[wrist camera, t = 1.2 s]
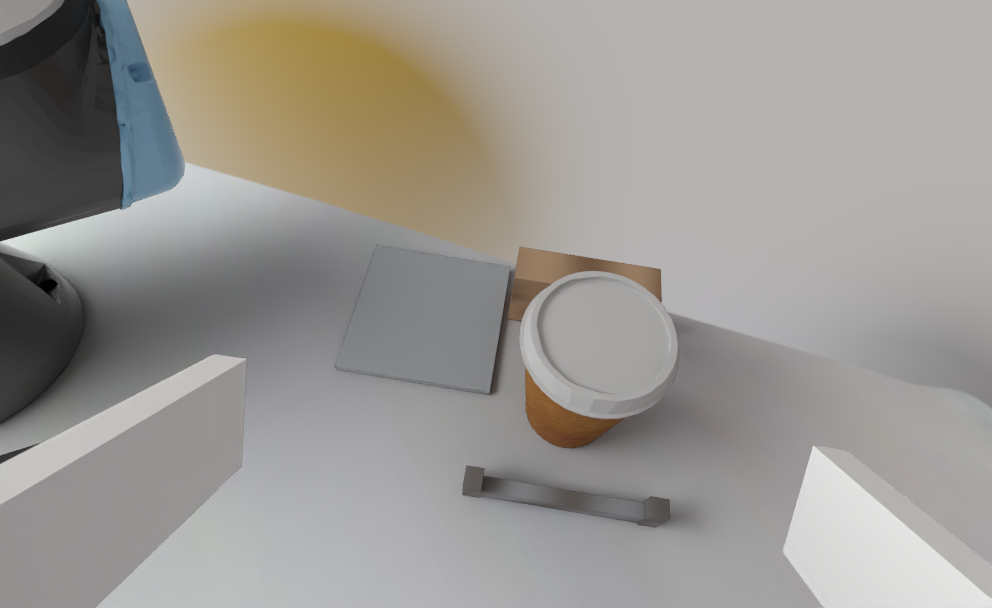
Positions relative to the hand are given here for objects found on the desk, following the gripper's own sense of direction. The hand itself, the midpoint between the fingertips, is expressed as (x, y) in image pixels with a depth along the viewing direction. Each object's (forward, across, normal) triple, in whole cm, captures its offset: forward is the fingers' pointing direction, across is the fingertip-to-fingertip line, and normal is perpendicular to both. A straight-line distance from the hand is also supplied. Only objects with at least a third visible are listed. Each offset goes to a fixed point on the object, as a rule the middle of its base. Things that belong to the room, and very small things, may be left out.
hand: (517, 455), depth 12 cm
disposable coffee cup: (+27, +5, -10) cm, 29 cm away
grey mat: (+31, -7, -5) cm, 32 cm away
